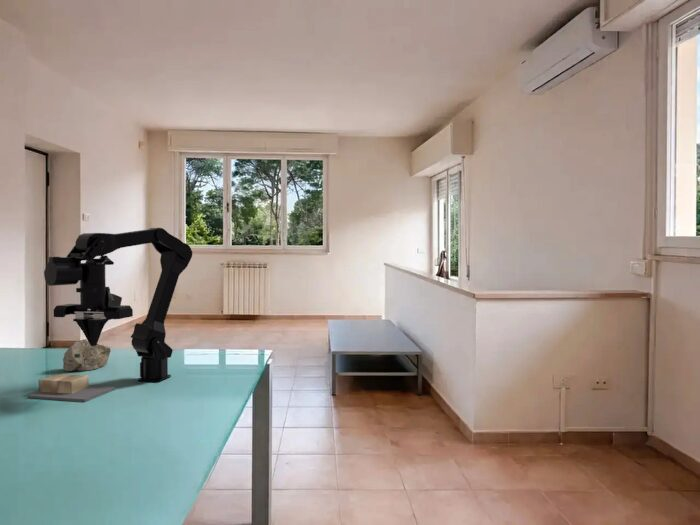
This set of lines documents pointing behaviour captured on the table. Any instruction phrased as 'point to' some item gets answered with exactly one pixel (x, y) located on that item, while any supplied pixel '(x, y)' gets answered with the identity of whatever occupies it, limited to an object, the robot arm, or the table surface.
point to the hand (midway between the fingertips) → (93, 345)
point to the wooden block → (63, 383)
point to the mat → (74, 394)
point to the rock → (85, 356)
